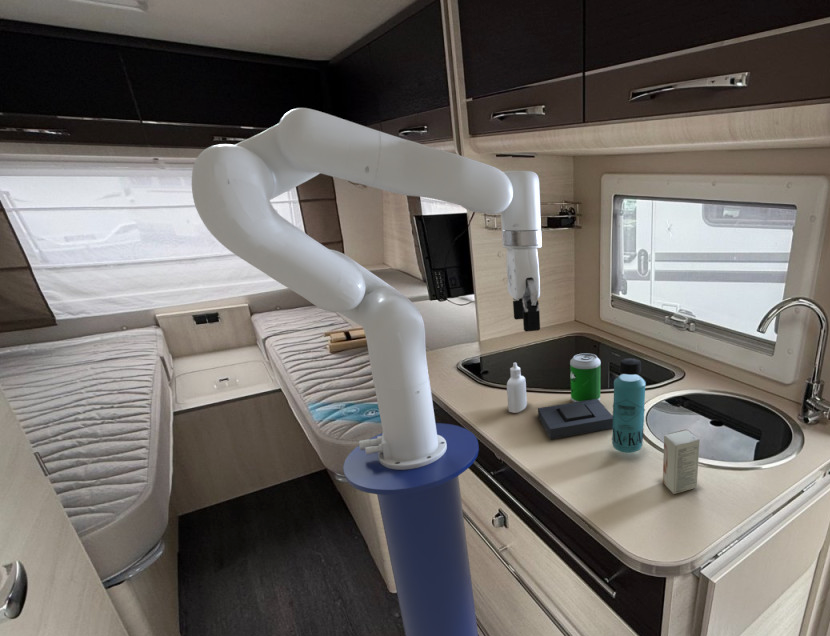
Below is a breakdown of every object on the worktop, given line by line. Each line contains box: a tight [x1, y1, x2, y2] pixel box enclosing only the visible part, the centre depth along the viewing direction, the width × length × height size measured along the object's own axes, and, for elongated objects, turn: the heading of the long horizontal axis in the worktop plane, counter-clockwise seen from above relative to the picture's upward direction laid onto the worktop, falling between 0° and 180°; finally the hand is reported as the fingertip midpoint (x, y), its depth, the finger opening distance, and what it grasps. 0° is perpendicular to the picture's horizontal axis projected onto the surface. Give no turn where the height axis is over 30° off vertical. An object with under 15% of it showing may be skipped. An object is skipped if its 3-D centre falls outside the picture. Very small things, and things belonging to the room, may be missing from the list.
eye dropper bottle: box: [506, 362, 528, 414], centre depth 113 cm, size 4×6×12 cm
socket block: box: [537, 399, 613, 440], centre depth 108 cm, size 15×11×2 cm
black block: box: [559, 404, 592, 422], centre depth 108 cm, size 6×6×3 cm
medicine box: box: [662, 428, 701, 495], centre depth 84 cm, size 5×4×10 cm
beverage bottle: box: [611, 357, 647, 454], centre depth 93 cm, size 6×7×20 cm
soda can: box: [569, 352, 602, 403], centre depth 117 cm, size 8×8×12 cm
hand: (526, 324), depth 97 cm, fingers open, 9 cm apart
